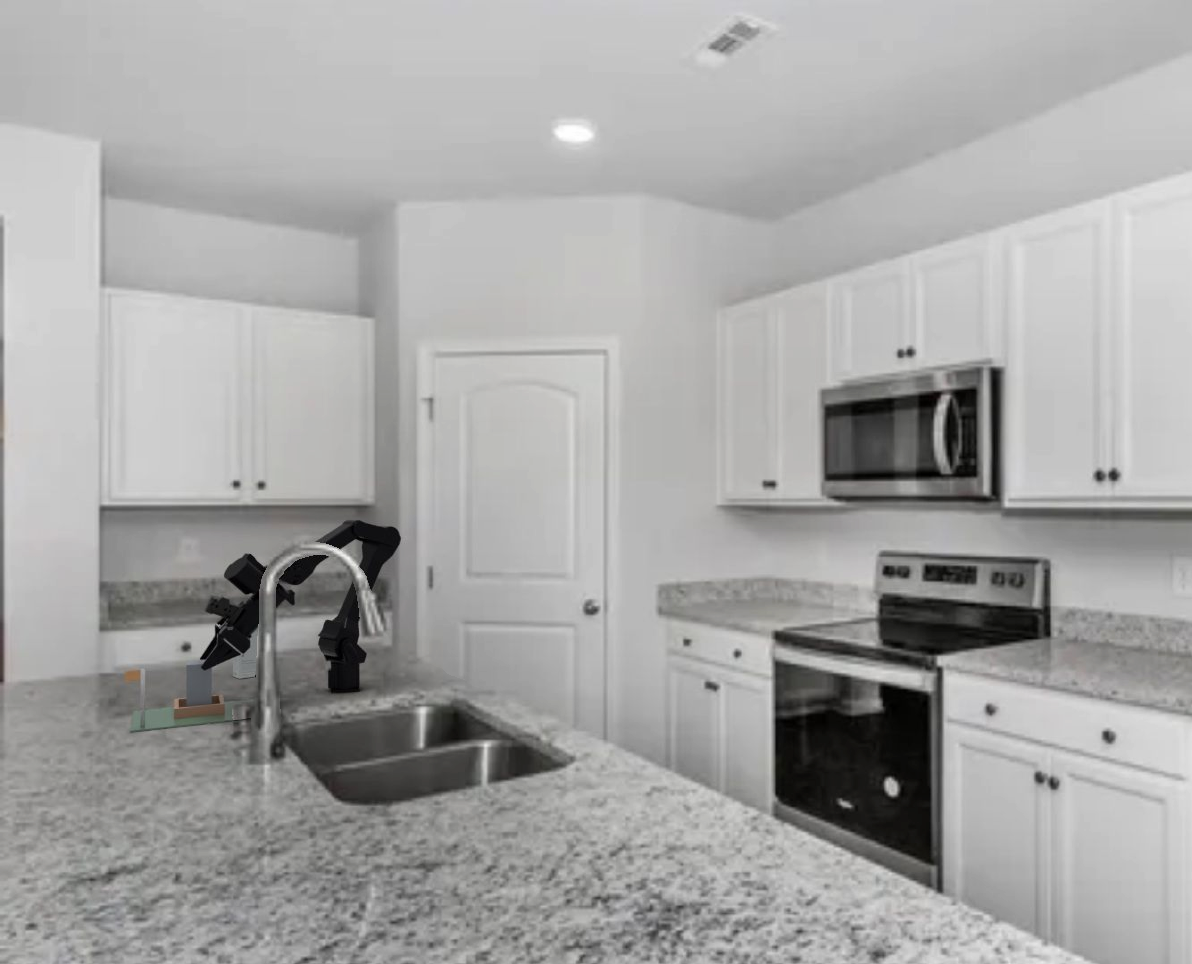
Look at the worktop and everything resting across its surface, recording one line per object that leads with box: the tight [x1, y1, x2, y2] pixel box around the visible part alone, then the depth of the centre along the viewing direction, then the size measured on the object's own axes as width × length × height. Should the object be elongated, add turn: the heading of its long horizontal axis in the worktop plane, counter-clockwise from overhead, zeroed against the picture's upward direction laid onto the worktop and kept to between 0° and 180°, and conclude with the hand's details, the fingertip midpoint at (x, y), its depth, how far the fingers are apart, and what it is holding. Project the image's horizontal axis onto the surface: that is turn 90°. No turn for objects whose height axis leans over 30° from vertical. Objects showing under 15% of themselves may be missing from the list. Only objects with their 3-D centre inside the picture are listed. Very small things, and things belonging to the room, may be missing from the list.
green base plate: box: [124, 668, 254, 733], centre depth 177 cm, size 25×16×11 cm, turn 116°
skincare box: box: [232, 628, 258, 680], centre depth 214 cm, size 6×4×12 cm
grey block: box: [185, 659, 213, 707], centre depth 179 cm, size 5×5×10 cm
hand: (201, 664), depth 179 cm, fingers open, 9 cm apart
